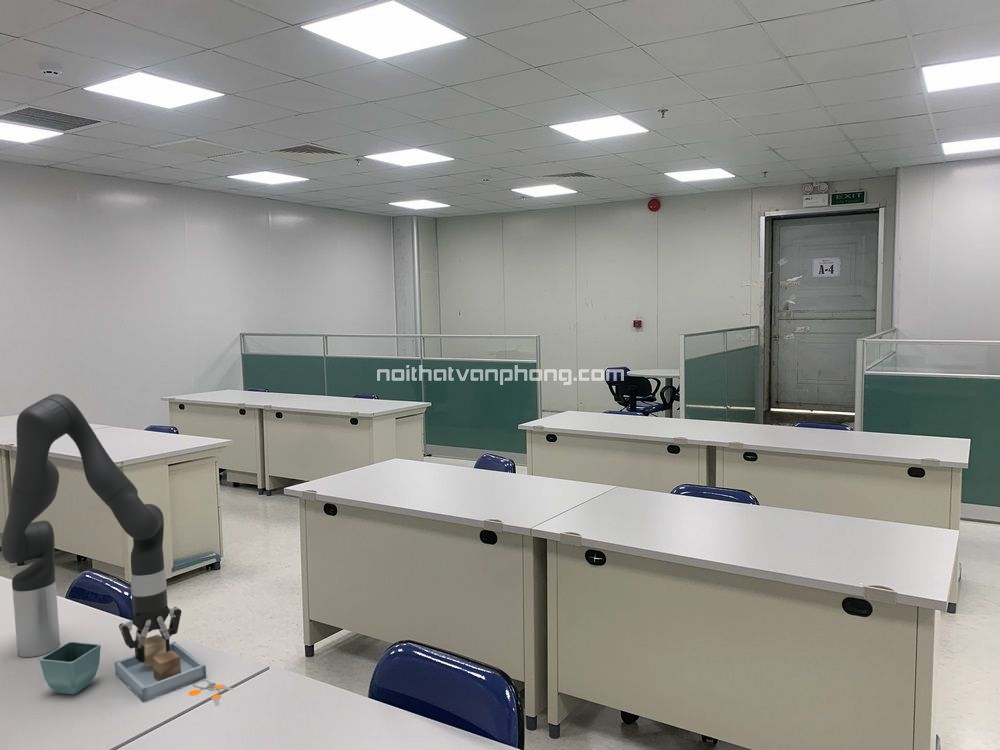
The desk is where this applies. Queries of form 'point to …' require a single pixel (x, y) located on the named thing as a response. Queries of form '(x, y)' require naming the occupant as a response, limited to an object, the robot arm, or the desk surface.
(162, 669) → the walnut block
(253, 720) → the desk surface
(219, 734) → the desk surface
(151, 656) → the oak block
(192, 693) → the key chain
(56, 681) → the flower pot
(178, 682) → the tray
